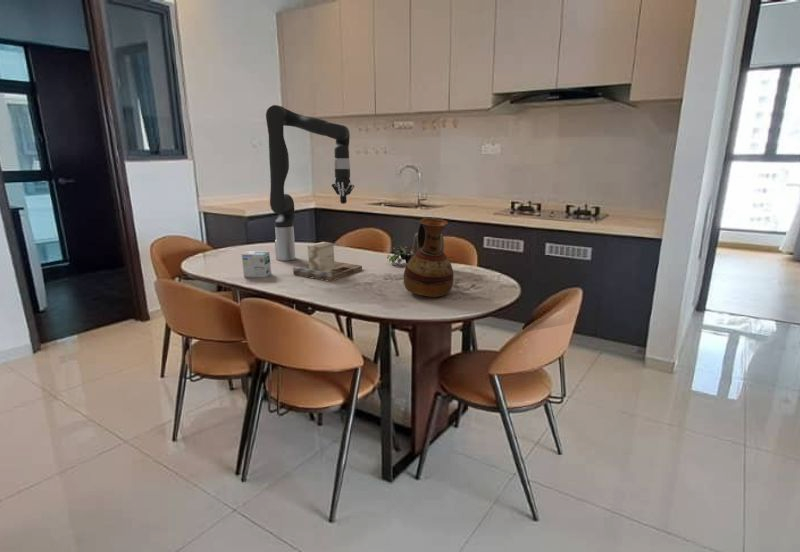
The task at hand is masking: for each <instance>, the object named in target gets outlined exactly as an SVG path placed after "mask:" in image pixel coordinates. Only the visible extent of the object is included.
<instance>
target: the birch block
mask: <svg viewBox="0 0 800 552" xmlns="http://www.w3.org/2000/svg"><path fill="white" fill-rule="evenodd" d="M334 247H335V246H334V242H328V241H320V242H317V243H312V244H308V245H307V256H308V257H307V258H308V266H309V269H311V270H317V271H322V272H326V271H329V270H332V269H335V265H334V261H335V249H334Z"/></svg>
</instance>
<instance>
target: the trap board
mask: <svg viewBox="0 0 800 552" xmlns="http://www.w3.org/2000/svg"><path fill="white" fill-rule="evenodd" d="M334 265H335V269H332V270H329V271H326V272H322V271H317V270H311V269H309V265H307V266H303V267H299V266H292V271H293V275H294V274H295V275H294V276H299V275H300V276H299V277H304V276H307V277H306V278H310V277H313V278H312V279H315V278H317V279H316V280H320V279H323V280H322V281H326V280H328V281H327V282H333V281H336V280H338V278H339V279H341V278H344V277H346V275H347V276H349V275H352V274H354V273H357V272H360V271H362V270H363V265H360V264H353V263H348V262H340V261H336V260H334ZM335 279H336V280H335ZM332 280H333V281H332Z"/></svg>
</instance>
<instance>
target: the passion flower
mask: <svg viewBox="0 0 800 552" xmlns="http://www.w3.org/2000/svg"><path fill="white" fill-rule="evenodd" d="M393 250H394V254H393V255H390V254H388V255H387V257H386V258H387V259H388V262H391V264H395V263H396V260H397V266H396V267H398V266H399V265H400V263H402V261H404V260H405V263H406V264H407V263H408V261H409V260H410V258H411V257H412V256H413V254H412V249H411V248H410V247H407V246H400V245H399V246H398V248H396V247H393ZM389 257H390V258H389Z"/></svg>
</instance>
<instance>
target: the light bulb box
mask: <svg viewBox="0 0 800 552" xmlns="http://www.w3.org/2000/svg"><path fill="white" fill-rule="evenodd" d="M241 258H242V259H241V262H242V270H243V277H244V278H267V277H268V276H271V274H272V267H271V256H270V251H268V250H267V251H263V250H262V251H257V250H255V251H253V250H252V251H250V250H248V251H246V252H243V253H241Z"/></svg>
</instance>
